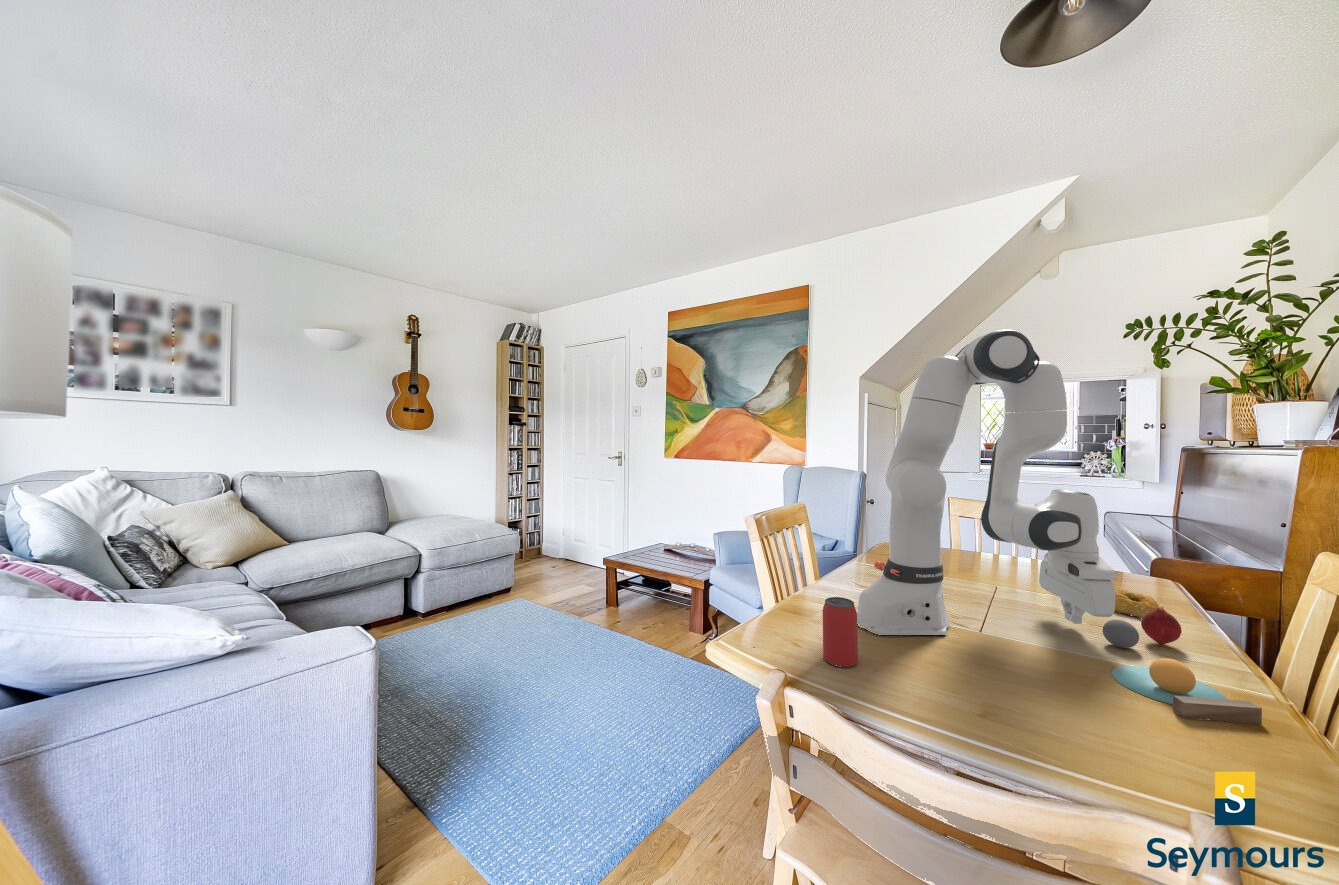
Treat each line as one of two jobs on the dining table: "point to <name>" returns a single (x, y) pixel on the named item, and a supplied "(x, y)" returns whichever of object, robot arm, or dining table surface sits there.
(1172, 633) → the onion
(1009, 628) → the dining table surface
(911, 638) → the dining table surface
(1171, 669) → the orange ball
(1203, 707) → the wall
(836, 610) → the beer can
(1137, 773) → the dining table surface
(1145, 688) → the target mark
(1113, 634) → the grey rubber ball
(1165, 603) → the dining table surface
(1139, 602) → the bagel
